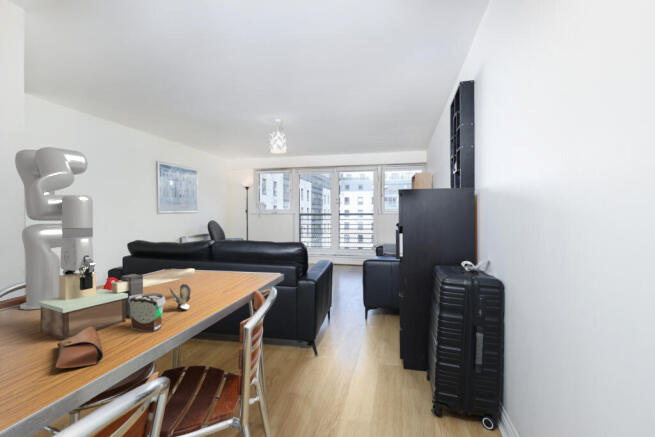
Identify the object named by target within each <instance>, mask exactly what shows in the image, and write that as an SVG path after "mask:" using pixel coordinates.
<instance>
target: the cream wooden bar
mask: <svg viewBox="0 0 655 437" xmlns="http://www.w3.org/2000/svg"><path fill="white" fill-rule="evenodd" d="M195 275H196V274H195V268H190V267H189V268H184V269H179V270H173V271H169V272H168V271H167V272H162V273H158V274H157V273H156V274H152V275H147V276H143V288H146V287H151V286H155V285H156V286H157V285H159V284H165V283H169V282H174V281H178V280H182V279H188V278H191V277H195ZM118 281H119V280H118ZM128 290H129V281H127V280H125V281H121V280H120V281H119V282H114V283H112V292H115V293H119V292H124V291H128Z"/></svg>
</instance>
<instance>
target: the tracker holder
mask: <svg viewBox="0 0 655 437" xmlns="http://www.w3.org/2000/svg"><path fill="white" fill-rule="evenodd" d="M114 282H119V280H118V278H116V277H113V276H112V277H107V278H106V282H105V284H104V286H103V288H102V289H106V290H111V291H112V283H114Z"/></svg>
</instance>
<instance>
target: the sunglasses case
mask: <svg viewBox="0 0 655 437" xmlns="http://www.w3.org/2000/svg"><path fill="white" fill-rule="evenodd" d="M57 347H58V356H57V360H56V363H55V369H75V368H81V367H86V366H92V365H96V364H98V363H99V362H100V361H101V360H103V356H104V353H103V347H102V342H101V340H100V336H99V333H98V331H96V330H95V328H94V327H89V328H87V329H85V330H83V331H82V332H80V333H78V334H77V335H75V336H72V337H70V338H68V339H65V340H61V341H59V342H57Z"/></svg>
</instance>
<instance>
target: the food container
mask: <svg viewBox="0 0 655 437" xmlns="http://www.w3.org/2000/svg"><path fill="white" fill-rule="evenodd" d="M164 295H165V294H163V293H160V292H159V293H158V292H156V293H155V292H150V293H149V292H148V293H146V292H145V293H143V294H138V295H132V296H129V299H128V303H130V315H131V319H130V326H131V330H132V329H133V330H137V331H144V332H147V333H148V332H149V333H156V332H158V331H160V330H161V328H162V323H163V322H162V320H163V313H164V312H163V311H164V304H166V297H165V296H164Z"/></svg>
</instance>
